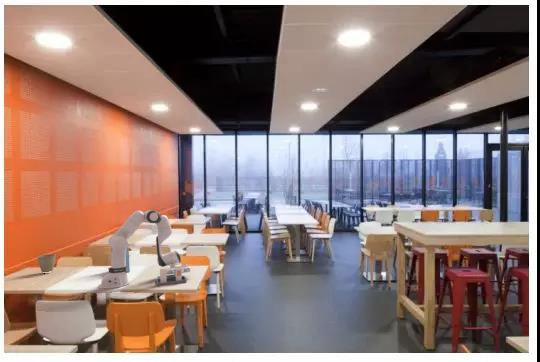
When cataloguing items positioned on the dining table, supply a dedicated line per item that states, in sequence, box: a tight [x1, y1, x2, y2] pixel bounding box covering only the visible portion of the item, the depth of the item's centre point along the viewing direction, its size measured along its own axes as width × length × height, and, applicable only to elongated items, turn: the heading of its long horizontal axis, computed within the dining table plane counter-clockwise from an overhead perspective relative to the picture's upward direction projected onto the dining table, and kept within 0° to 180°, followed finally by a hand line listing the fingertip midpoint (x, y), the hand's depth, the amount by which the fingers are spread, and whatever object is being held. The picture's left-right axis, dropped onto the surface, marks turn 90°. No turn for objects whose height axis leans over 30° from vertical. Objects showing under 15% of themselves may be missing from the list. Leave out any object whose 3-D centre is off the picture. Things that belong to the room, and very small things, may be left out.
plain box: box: [159, 266, 167, 283], centre depth 305 cm, size 4×4×12 cm
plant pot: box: [37, 253, 57, 273], centre depth 357 cm, size 15×15×16 cm
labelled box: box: [175, 265, 183, 281], centre depth 309 cm, size 4×5×12 cm
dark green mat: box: [157, 274, 175, 279], centre depth 323 cm, size 16×14×1 cm
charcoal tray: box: [155, 275, 187, 287], centre depth 307 cm, size 22×14×2 cm, turn 110°
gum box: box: [110, 246, 131, 273], centre depth 352 cm, size 19×5×23 cm, turn 56°
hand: (178, 272), depth 308 cm, fingers closed on labelled box, 4 cm apart
